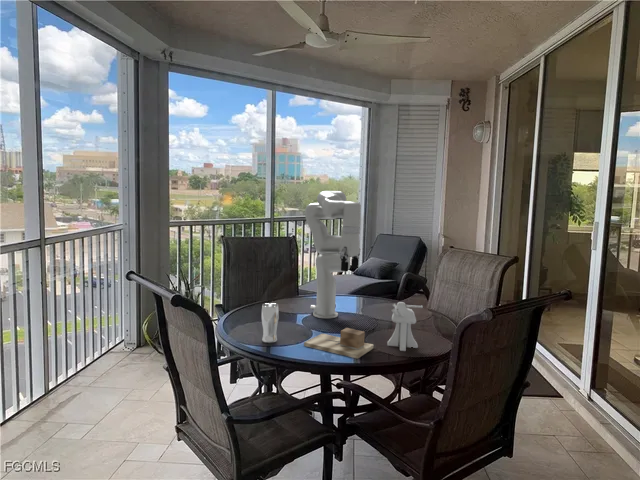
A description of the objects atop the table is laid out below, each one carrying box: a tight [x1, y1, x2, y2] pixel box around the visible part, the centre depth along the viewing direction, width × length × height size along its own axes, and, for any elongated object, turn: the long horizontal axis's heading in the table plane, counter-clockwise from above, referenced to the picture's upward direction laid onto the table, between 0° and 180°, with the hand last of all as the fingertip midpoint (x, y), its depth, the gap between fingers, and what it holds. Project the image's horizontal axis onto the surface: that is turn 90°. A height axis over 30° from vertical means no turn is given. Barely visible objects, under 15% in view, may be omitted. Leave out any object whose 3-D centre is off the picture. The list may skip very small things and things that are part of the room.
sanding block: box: [339, 327, 366, 350], centre depth 173 cm, size 8×5×6 cm, turn 59°
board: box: [303, 333, 375, 359], centre depth 176 cm, size 24×14×2 cm, turn 59°
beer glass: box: [261, 302, 280, 344], centre depth 181 cm, size 7×7×15 cm
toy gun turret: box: [386, 301, 424, 352], centre depth 179 cm, size 12×13×18 cm
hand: (349, 269), depth 193 cm, fingers open, 9 cm apart
